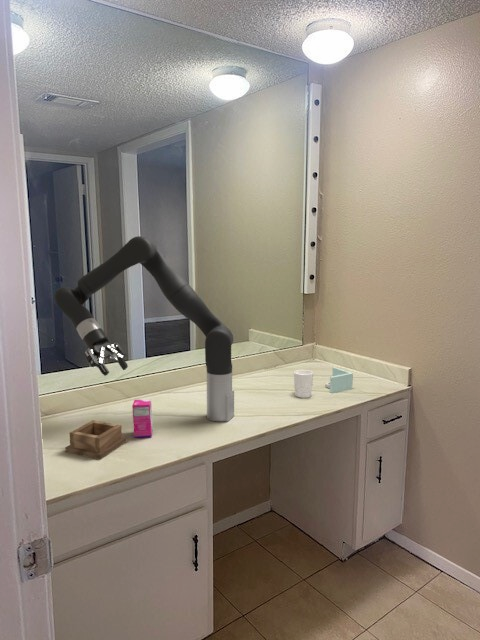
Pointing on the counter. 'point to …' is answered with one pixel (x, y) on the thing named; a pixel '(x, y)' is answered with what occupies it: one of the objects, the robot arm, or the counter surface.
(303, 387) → the white cup
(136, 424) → the supplement box
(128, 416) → the counter surface
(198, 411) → the counter surface
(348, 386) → the right angle wall
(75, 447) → the post socket
